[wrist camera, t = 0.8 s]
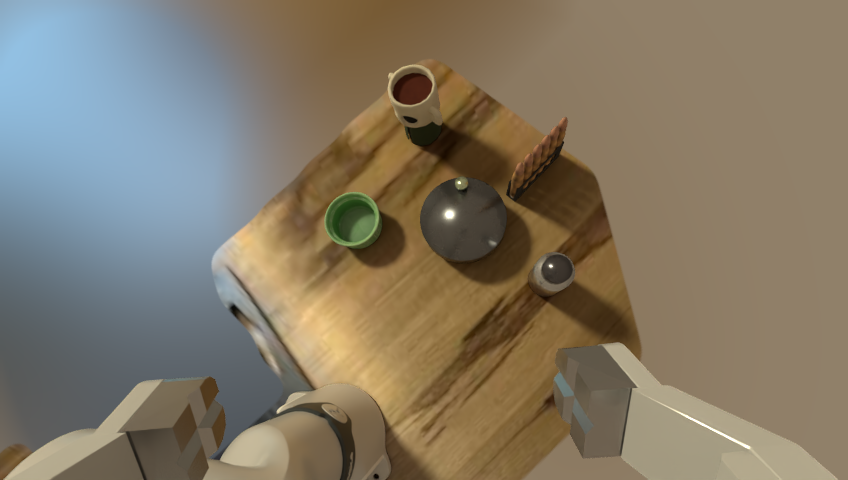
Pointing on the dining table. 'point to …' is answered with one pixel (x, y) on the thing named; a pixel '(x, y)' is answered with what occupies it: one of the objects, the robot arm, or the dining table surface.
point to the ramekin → (353, 220)
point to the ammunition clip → (537, 161)
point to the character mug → (416, 103)
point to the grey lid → (463, 220)
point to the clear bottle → (551, 274)
